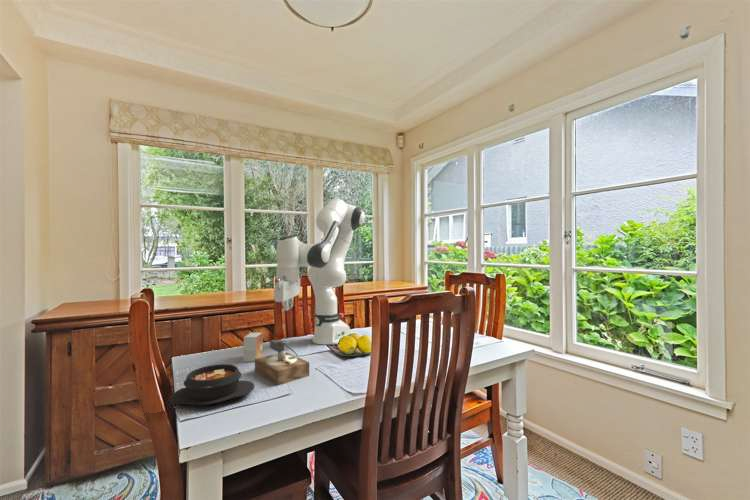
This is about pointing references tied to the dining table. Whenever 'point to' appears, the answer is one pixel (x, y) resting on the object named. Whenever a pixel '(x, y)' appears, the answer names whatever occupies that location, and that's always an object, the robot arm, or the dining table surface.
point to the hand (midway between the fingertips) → (287, 309)
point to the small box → (253, 346)
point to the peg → (279, 349)
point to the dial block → (281, 368)
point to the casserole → (212, 386)
